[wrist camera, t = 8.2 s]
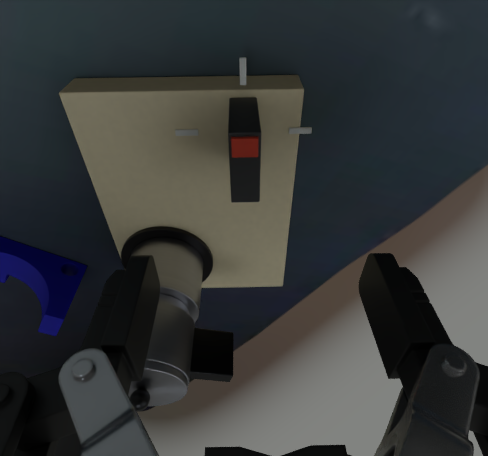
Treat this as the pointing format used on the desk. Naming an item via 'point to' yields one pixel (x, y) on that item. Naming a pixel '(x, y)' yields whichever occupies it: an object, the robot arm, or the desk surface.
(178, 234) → the burner
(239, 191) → the black box with red
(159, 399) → the moka pot
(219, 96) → the hot plate
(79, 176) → the desk surface
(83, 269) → the cable clip
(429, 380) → the robot arm
